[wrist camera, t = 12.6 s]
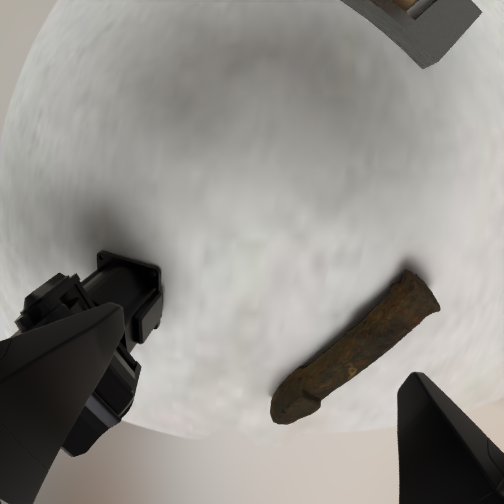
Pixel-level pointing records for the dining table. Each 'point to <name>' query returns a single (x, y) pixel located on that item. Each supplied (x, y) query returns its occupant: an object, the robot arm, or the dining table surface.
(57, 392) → the robot arm
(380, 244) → the dining table surface
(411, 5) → the walnut post
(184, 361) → the dining table surface
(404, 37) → the grey slotted base plate
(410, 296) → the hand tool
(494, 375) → the dining table surface
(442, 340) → the dining table surface
